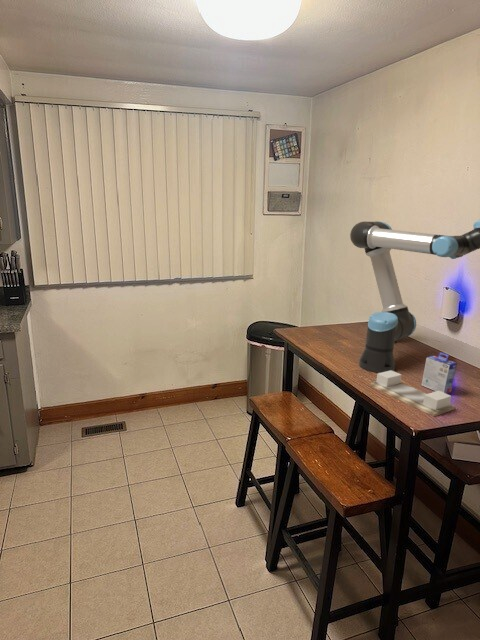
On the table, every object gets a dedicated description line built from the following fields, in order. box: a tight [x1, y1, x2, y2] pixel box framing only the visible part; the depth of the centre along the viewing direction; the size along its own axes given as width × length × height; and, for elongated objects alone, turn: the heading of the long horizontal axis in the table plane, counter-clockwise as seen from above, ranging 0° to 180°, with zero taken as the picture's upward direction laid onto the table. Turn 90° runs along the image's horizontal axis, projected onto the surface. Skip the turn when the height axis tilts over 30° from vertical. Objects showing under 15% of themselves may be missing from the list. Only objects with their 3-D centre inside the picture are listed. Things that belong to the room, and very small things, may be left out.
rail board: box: [369, 379, 456, 417], centre depth 163 cm, size 28×12×2 cm, turn 32°
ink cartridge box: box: [421, 352, 458, 394], centre depth 169 cm, size 10×6×14 cm, turn 36°
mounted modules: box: [375, 370, 452, 410], centre depth 162 cm, size 26×8×4 cm, turn 32°
